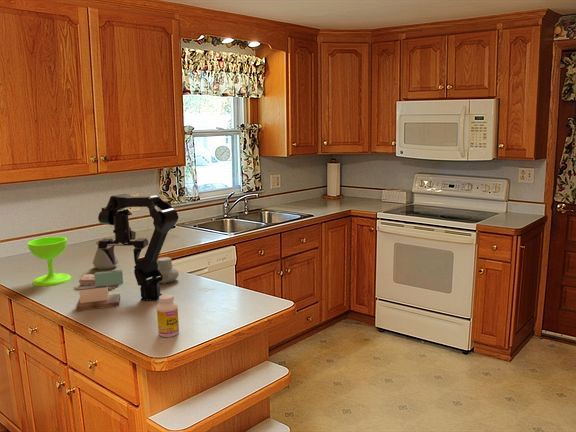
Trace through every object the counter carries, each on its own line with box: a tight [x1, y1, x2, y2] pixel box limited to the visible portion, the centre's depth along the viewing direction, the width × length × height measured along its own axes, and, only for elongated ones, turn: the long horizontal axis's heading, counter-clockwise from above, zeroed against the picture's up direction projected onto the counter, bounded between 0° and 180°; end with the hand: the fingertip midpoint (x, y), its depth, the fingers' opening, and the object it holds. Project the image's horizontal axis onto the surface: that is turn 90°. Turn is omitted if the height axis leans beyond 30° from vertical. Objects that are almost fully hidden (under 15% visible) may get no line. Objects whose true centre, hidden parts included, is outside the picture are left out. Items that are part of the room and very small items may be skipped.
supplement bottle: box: [156, 293, 180, 338], centre depth 178 cm, size 7×7×13 cm
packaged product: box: [73, 273, 125, 290], centre depth 232 cm, size 18×5×10 cm
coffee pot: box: [92, 239, 119, 271], centre depth 254 cm, size 21×12×15 cm, turn 32°
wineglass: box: [26, 236, 72, 287], centre depth 240 cm, size 16×16×18 cm
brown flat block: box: [76, 293, 121, 311], centre depth 210 cm, size 15×10×2 cm, turn 104°
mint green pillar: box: [93, 269, 124, 287], centre depth 209 cm, size 10×2×5 cm, turn 104°
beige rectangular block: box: [78, 286, 109, 303], centre depth 209 cm, size 10×3×6 cm, turn 104°
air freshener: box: [157, 256, 179, 284], centre depth 234 cm, size 11×8×10 cm
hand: (125, 264), depth 219 cm, fingers open, 9 cm apart
